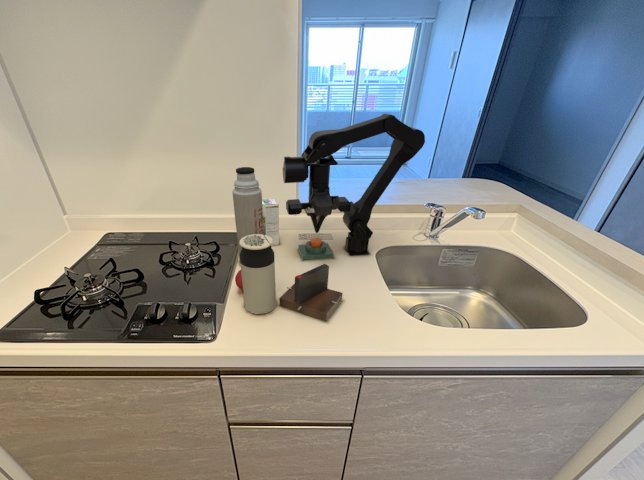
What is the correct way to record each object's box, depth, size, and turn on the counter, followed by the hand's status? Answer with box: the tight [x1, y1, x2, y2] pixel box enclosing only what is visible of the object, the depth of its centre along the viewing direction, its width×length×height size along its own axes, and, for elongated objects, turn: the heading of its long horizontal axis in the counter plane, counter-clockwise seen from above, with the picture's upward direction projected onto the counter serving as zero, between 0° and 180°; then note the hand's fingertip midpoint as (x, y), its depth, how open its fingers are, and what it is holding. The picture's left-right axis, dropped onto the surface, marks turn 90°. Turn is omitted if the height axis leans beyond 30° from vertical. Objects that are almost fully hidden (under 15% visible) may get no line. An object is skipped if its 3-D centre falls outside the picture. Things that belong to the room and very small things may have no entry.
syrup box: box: [262, 198, 280, 246], centre depth 109 cm, size 6×6×14 cm
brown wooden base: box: [278, 283, 343, 322], centre depth 83 cm, size 14×14×3 cm
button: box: [309, 237, 323, 247], centre depth 104 cm, size 4×4×2 cm
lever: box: [294, 263, 330, 304], centre depth 80 cm, size 10×2×7 cm, turn 130°
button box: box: [297, 240, 335, 261], centre depth 105 cm, size 10×8×4 cm
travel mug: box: [239, 234, 277, 315], centre depth 77 cm, size 8×8×18 cm
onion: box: [234, 269, 243, 291], centre depth 86 cm, size 6×6×8 cm
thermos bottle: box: [231, 166, 264, 266], centre depth 93 cm, size 8×8×28 cm
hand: (316, 232), depth 102 cm, fingers closed
